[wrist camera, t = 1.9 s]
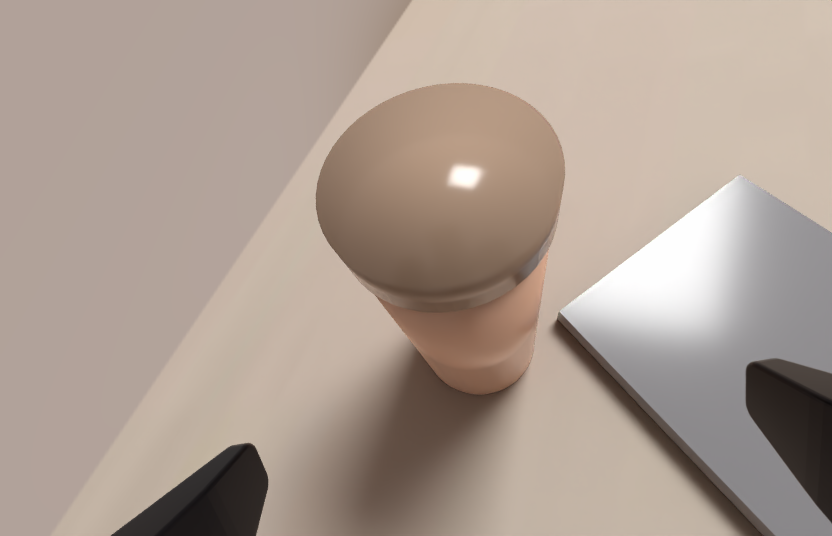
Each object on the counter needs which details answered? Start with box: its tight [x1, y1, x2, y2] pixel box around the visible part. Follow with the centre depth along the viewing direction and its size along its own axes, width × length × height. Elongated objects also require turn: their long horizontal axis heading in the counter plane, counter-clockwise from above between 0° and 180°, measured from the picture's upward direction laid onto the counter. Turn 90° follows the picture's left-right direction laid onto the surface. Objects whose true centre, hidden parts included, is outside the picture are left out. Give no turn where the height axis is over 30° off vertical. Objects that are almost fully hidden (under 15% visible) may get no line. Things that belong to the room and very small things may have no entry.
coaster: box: [557, 175, 832, 536], centre depth 17 cm, size 11×11×1 cm
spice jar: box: [316, 83, 565, 395], centre depth 14 cm, size 5×5×12 cm
